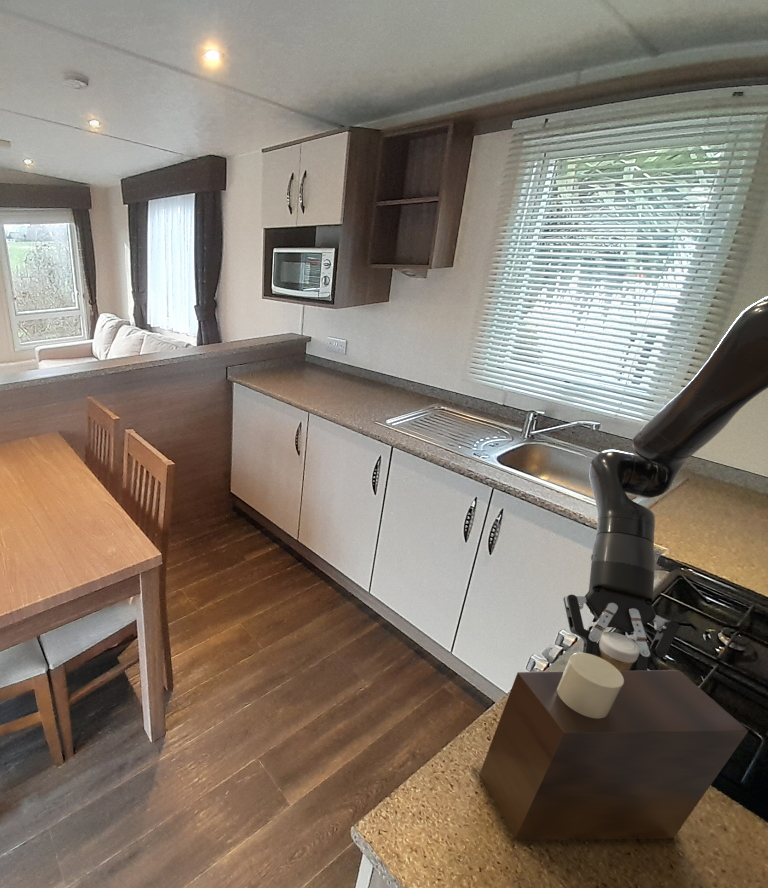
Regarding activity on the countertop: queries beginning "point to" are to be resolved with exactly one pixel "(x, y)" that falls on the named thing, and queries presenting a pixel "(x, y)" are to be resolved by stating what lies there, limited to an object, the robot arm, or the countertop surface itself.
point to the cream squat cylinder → (590, 685)
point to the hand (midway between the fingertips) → (613, 673)
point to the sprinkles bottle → (618, 650)
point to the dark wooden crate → (606, 758)
